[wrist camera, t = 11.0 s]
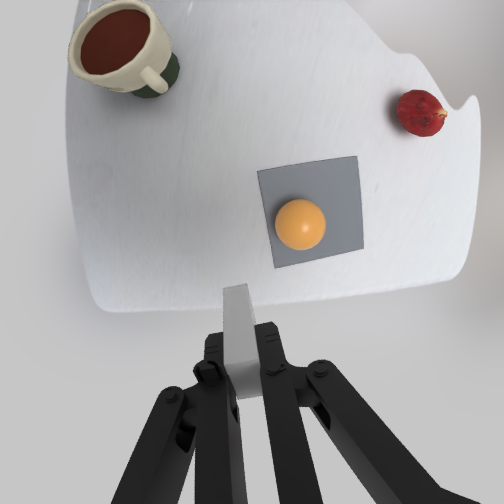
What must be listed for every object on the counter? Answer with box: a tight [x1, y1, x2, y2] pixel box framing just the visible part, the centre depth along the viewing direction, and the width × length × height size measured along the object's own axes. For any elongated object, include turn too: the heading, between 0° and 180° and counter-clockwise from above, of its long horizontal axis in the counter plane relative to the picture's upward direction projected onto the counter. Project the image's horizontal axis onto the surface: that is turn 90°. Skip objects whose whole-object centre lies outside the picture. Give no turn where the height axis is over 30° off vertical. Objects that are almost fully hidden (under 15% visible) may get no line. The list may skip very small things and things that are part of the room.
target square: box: [257, 156, 364, 268], centre depth 32 cm, size 12×12×1 cm
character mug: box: [68, 0, 180, 98], centre depth 18 cm, size 11×7×13 cm, turn 39°
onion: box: [397, 90, 447, 137], centre depth 24 cm, size 6×6×8 cm
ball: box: [275, 199, 326, 250], centre depth 30 cm, size 6×6×6 cm
